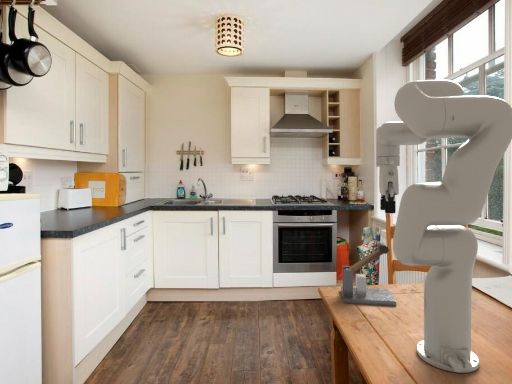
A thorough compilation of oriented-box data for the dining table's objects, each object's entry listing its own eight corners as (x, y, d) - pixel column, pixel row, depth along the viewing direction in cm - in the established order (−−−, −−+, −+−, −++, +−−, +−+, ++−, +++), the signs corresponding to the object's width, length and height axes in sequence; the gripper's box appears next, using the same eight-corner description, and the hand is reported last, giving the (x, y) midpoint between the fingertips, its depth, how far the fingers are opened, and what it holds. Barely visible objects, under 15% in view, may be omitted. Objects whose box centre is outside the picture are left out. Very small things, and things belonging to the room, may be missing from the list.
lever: (390, 251, 107) (385, 244, 107) (347, 278, 110) (343, 271, 110) (386, 247, 113) (382, 241, 113) (346, 273, 116) (341, 267, 116)
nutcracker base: (396, 305, 105) (396, 274, 104) (343, 303, 108) (343, 272, 107) (388, 293, 116) (388, 264, 116) (340, 290, 120) (340, 263, 119)
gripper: (405, 160, 99) (405, 214, 100) (394, 162, 116) (394, 209, 117) (380, 161, 101) (379, 214, 102) (372, 163, 118) (372, 208, 119)
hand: (387, 211), depth 109 cm, fingers open, 9 cm apart
